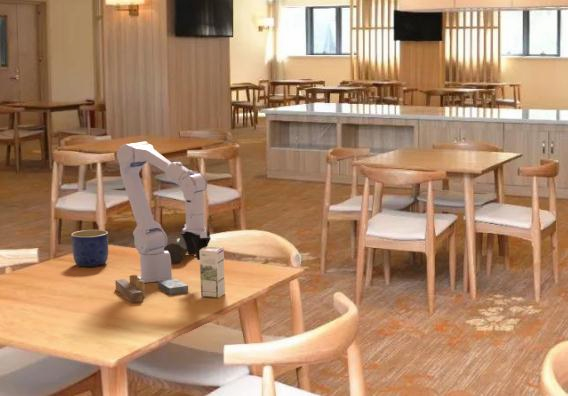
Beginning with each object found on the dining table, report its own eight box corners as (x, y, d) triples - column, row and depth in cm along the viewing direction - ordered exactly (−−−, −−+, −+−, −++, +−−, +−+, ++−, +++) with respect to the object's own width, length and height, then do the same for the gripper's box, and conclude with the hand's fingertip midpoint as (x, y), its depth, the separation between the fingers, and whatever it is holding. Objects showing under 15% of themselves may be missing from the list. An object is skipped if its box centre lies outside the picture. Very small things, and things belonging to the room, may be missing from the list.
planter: (65, 264, 345) (64, 233, 343) (96, 258, 353) (95, 228, 351) (85, 270, 336) (83, 238, 334) (116, 264, 344) (115, 232, 342)
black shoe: (192, 252, 370) (170, 279, 344) (178, 227, 369) (153, 253, 343) (217, 239, 367) (195, 265, 341) (202, 214, 366) (179, 239, 339)
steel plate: (176, 286, 314) (176, 278, 313) (188, 293, 305) (188, 285, 304) (158, 289, 311) (157, 281, 310) (169, 296, 302) (169, 288, 302)
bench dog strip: (132, 287, 312) (132, 271, 311) (150, 300, 296) (149, 284, 295) (115, 289, 309) (115, 273, 309) (132, 303, 293) (131, 286, 293)
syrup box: (225, 293, 302) (224, 246, 300) (218, 298, 297) (216, 250, 295) (208, 292, 304) (206, 245, 302) (200, 297, 299) (198, 249, 296)
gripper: (174, 211, 312) (176, 254, 314) (190, 218, 299) (192, 263, 301) (195, 209, 315) (197, 251, 317) (212, 216, 302) (214, 260, 304)
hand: (196, 257), depth 310 cm, fingers open, 7 cm apart
